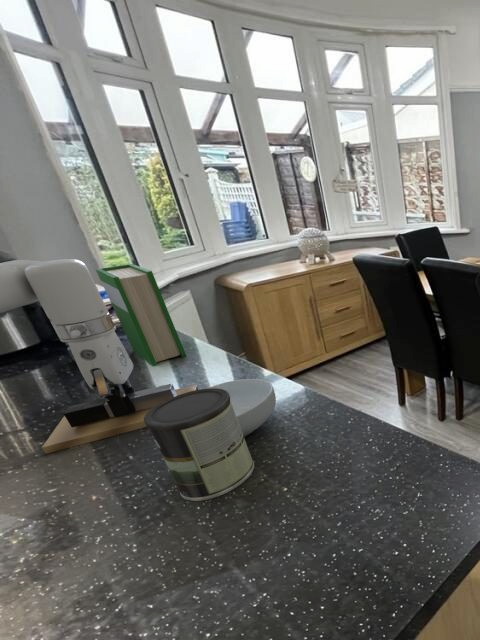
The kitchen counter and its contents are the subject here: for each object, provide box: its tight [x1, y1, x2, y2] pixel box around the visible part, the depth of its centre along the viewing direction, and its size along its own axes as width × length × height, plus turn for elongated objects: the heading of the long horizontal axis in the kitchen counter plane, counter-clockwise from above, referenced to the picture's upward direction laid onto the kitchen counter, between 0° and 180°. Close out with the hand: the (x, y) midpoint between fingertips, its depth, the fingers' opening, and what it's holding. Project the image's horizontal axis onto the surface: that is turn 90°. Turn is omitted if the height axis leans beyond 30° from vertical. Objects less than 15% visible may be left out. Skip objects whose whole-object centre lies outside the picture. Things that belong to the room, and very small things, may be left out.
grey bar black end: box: [63, 382, 177, 427], centre depth 80 cm, size 16×3×3 cm, turn 123°
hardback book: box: [95, 263, 187, 367], centre depth 106 cm, size 18×7×24 cm, turn 54°
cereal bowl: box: [205, 378, 277, 438], centre depth 75 cm, size 17×17×7 cm
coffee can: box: [144, 387, 255, 502], centre depth 62 cm, size 10×10×14 cm
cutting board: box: [41, 384, 199, 455], centre depth 81 cm, size 22×12×2 cm, turn 123°
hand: (127, 409), depth 81 cm, fingers closed on grey bar black end, 3 cm apart
